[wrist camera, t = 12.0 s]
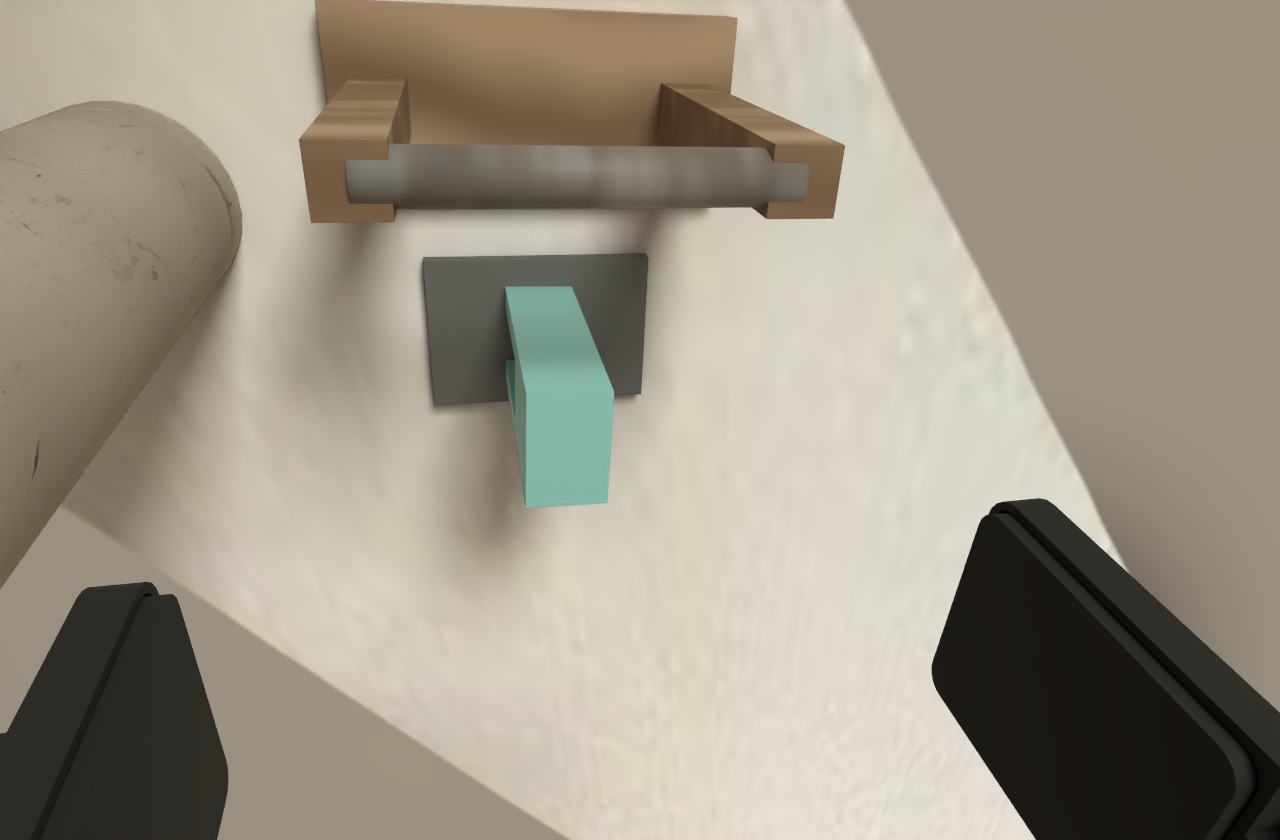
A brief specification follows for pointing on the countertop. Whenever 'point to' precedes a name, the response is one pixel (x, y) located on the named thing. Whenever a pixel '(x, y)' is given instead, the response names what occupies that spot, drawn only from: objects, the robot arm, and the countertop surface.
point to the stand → (546, 116)
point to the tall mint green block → (557, 399)
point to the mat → (478, 326)
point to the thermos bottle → (94, 286)
